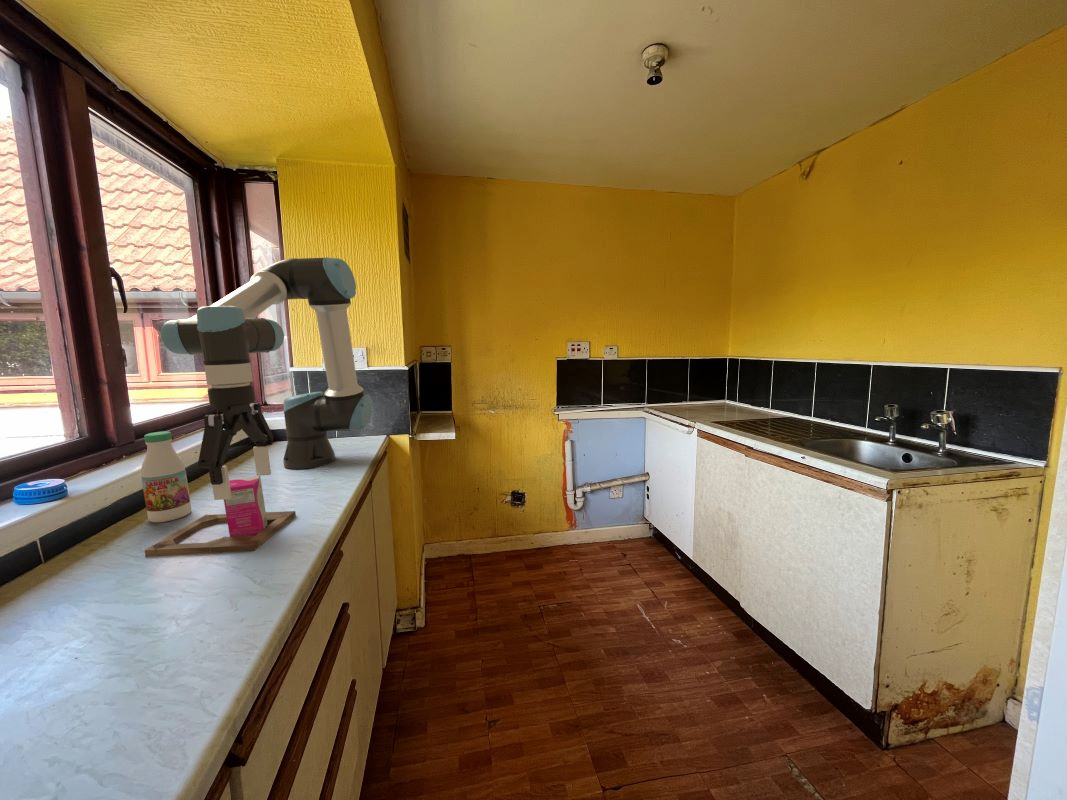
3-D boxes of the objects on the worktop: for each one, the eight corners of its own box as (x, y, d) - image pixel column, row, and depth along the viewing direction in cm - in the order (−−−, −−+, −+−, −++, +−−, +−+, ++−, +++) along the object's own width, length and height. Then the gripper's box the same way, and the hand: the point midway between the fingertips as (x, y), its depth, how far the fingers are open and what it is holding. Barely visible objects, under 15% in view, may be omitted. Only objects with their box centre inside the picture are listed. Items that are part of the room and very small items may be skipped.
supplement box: (236, 530, 89) (229, 479, 88) (268, 525, 92) (262, 475, 90) (228, 542, 84) (221, 488, 82) (262, 536, 86) (256, 483, 85)
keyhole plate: (205, 519, 95) (205, 514, 95) (296, 515, 96) (295, 510, 96) (144, 556, 79) (143, 550, 79) (253, 551, 80) (252, 545, 80)
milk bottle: (146, 517, 97) (132, 433, 94) (189, 507, 103) (177, 427, 100) (150, 526, 92) (135, 438, 89) (194, 515, 98) (182, 432, 95)
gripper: (249, 378, 95) (261, 467, 99) (159, 395, 71) (179, 512, 74) (283, 377, 96) (294, 465, 99) (205, 393, 71) (223, 510, 75)
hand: (245, 486), depth 87 cm, fingers open, 13 cm apart
